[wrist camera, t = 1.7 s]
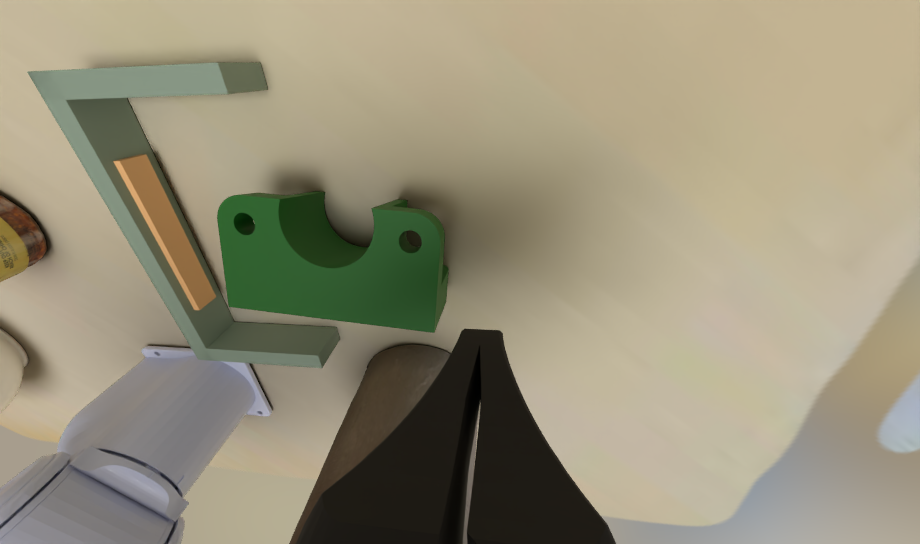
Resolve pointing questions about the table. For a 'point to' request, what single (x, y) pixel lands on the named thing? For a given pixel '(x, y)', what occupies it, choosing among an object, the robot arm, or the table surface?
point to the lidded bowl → (10, 368)
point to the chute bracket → (168, 202)
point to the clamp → (332, 262)
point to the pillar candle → (382, 415)
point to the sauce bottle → (18, 240)
